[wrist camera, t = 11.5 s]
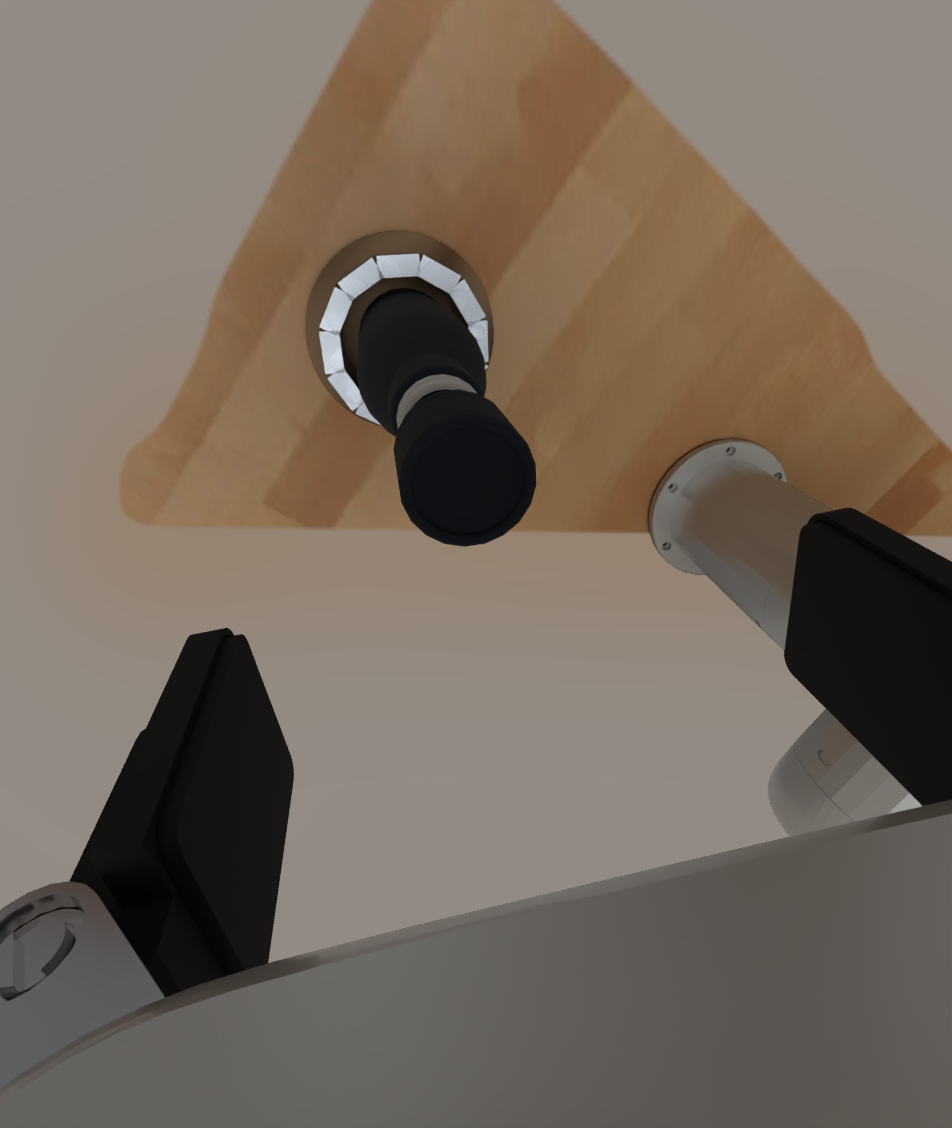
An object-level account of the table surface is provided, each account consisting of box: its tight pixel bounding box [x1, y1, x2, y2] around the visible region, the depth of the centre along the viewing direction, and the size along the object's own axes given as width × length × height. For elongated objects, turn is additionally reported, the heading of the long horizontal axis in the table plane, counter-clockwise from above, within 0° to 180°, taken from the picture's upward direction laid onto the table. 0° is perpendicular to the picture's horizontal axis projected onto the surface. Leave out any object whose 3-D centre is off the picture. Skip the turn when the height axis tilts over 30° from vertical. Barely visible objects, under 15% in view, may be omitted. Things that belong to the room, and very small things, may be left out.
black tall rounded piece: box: [357, 288, 536, 546], centre depth 30 cm, size 6×6×30 cm
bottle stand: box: [306, 231, 494, 426], centre depth 42 cm, size 13×13×6 cm
